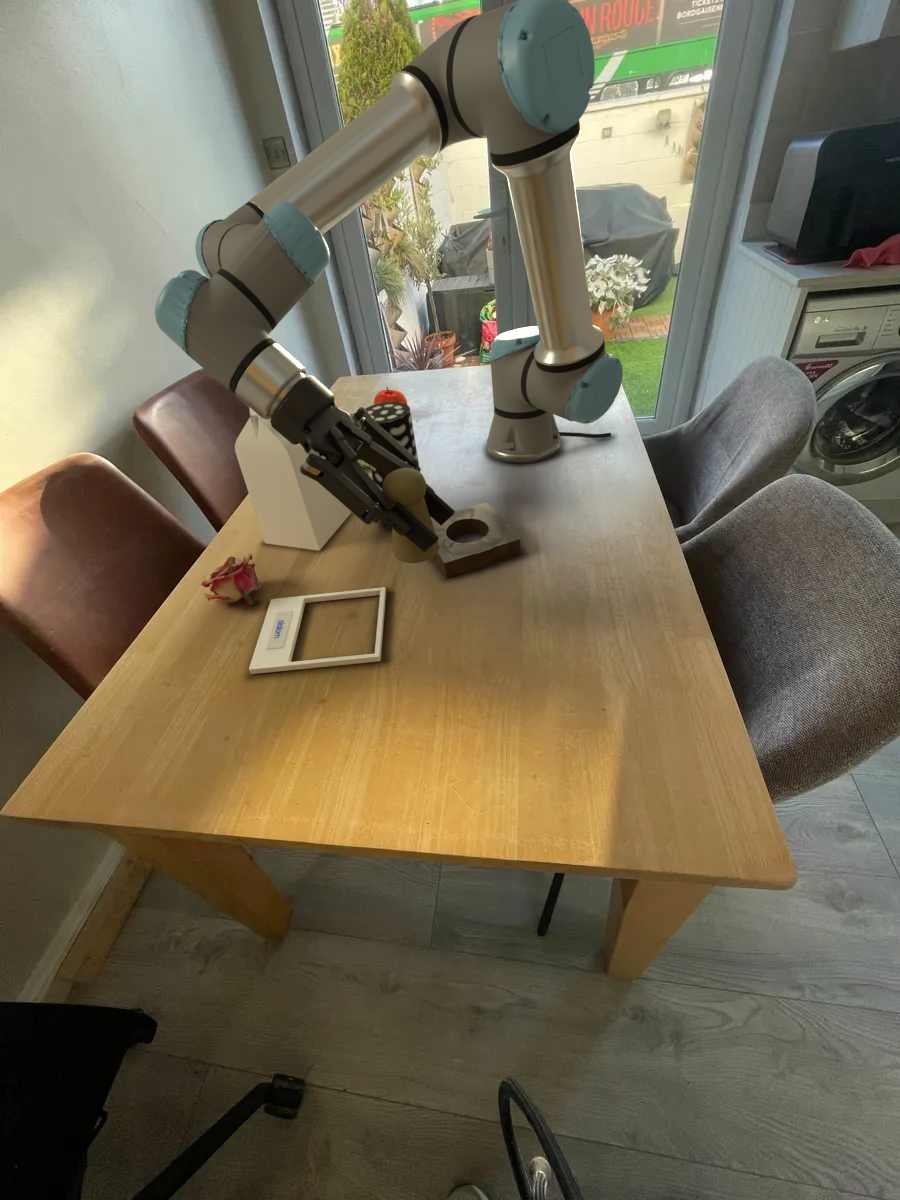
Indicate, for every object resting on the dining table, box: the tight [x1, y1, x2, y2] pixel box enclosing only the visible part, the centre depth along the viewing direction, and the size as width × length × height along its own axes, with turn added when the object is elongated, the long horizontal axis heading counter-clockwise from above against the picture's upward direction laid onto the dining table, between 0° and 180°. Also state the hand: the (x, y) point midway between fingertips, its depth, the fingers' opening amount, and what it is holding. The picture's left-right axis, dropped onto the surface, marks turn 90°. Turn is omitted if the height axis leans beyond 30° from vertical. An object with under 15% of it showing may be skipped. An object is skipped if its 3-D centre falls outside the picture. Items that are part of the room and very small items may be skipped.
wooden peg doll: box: [383, 468, 439, 564], centre depth 68 cm, size 6×6×11 cm
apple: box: [373, 386, 409, 406], centre depth 133 cm, size 8×8×8 cm
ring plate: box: [431, 501, 522, 579], centre depth 92 cm, size 13×13×3 cm
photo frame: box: [248, 586, 387, 675], centre depth 80 cm, size 15×1×18 cm
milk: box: [234, 406, 352, 552], centre depth 94 cm, size 12×12×26 cm
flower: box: [201, 553, 268, 607], centre depth 86 cm, size 10×9×8 cm
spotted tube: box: [365, 402, 420, 530], centre depth 95 cm, size 8×8×20 cm
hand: (439, 531), depth 68 cm, fingers closed on wooden peg doll, 5 cm apart
